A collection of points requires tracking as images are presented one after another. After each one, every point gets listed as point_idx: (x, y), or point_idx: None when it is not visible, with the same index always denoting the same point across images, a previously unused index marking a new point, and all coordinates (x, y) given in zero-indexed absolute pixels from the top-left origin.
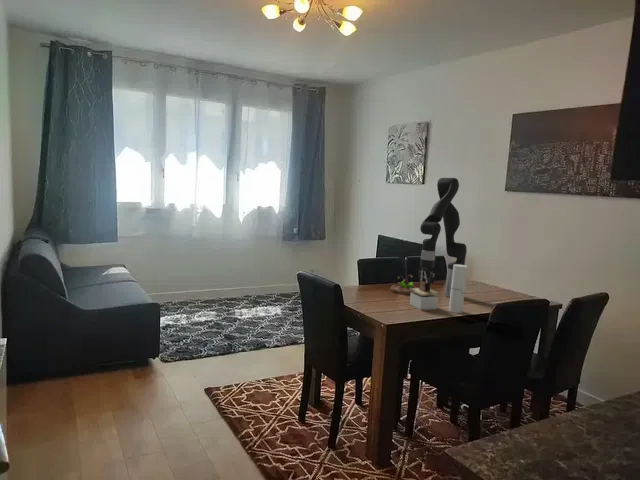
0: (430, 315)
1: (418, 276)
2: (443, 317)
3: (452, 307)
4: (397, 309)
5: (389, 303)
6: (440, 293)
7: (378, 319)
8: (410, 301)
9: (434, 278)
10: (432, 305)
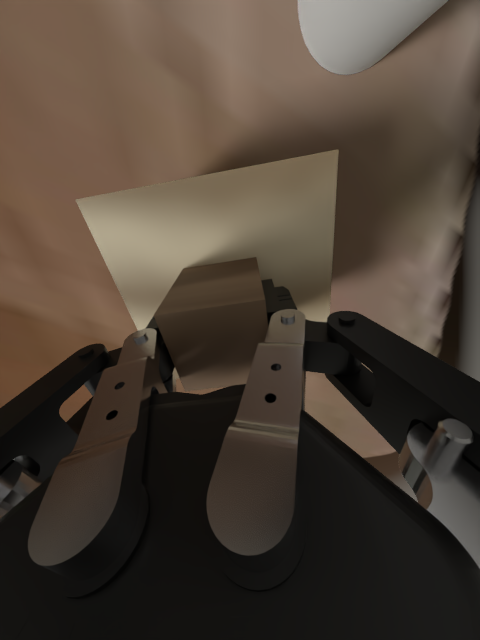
0: (388, 285)
1: (81, 423)
2: (449, 226)
3: (398, 43)
4: None
5: (181, 383)
6: (336, 151)
7: (367, 453)
8: None
9: (452, 367)
10: None
